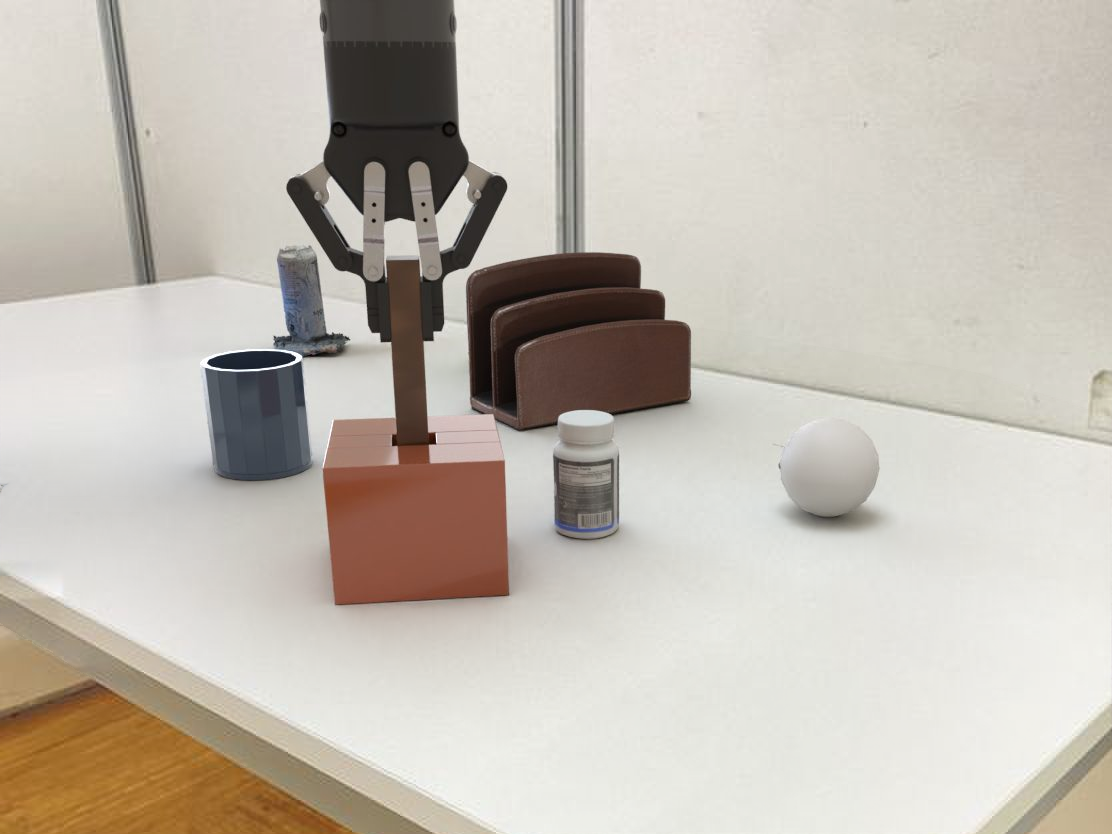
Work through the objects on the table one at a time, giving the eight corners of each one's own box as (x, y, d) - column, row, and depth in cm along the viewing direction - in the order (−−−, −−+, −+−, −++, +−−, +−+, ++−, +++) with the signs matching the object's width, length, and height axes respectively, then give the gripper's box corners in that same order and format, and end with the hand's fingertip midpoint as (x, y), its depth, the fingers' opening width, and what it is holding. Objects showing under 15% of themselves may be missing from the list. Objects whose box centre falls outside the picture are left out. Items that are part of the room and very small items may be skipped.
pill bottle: (570, 514, 95) (569, 405, 91) (628, 522, 93) (629, 411, 90) (543, 534, 91) (541, 421, 87) (604, 544, 89) (604, 428, 86)
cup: (208, 482, 102) (193, 372, 98) (221, 453, 109) (208, 350, 105) (308, 478, 103) (298, 369, 99) (315, 450, 110) (305, 347, 106)
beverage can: (273, 360, 142) (261, 251, 138) (273, 346, 149) (262, 242, 144) (354, 356, 144) (345, 248, 140) (350, 342, 151) (342, 239, 146)
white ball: (895, 522, 93) (905, 426, 90) (808, 536, 90) (815, 437, 87) (823, 483, 101) (830, 394, 98) (742, 494, 99) (746, 403, 96)
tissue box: (334, 604, 79) (322, 468, 75) (343, 543, 89) (332, 419, 85) (509, 595, 80) (504, 460, 77) (498, 535, 90) (493, 413, 87)
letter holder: (468, 408, 123) (462, 261, 117) (635, 381, 133) (636, 244, 127) (519, 432, 115) (514, 275, 110) (692, 402, 125) (696, 257, 119)
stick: (401, 511, 82) (385, 260, 75) (401, 501, 84) (386, 255, 77) (432, 510, 82) (419, 259, 76) (431, 500, 84) (419, 254, 78)
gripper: (506, 37, 76) (512, 325, 83) (272, 36, 74) (299, 330, 81) (515, 36, 69) (522, 349, 76) (258, 34, 67) (288, 355, 74)
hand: (406, 338), depth 78 cm, fingers closed on stick, 2 cm apart
